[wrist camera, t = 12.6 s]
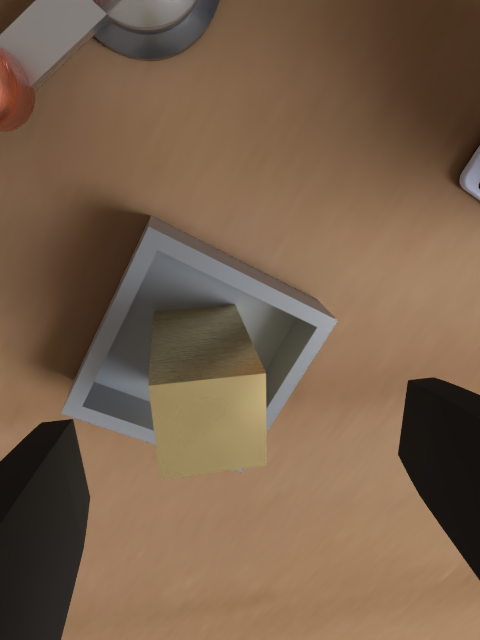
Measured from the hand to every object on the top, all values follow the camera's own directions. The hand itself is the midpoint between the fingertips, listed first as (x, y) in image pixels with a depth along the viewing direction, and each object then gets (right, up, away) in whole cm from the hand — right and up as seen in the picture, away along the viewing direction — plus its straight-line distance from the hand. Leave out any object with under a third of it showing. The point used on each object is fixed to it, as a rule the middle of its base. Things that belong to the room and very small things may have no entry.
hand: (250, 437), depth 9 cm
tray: (-2, +2, +10) cm, 10 cm away
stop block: (-2, +2, +9) cm, 10 cm away
